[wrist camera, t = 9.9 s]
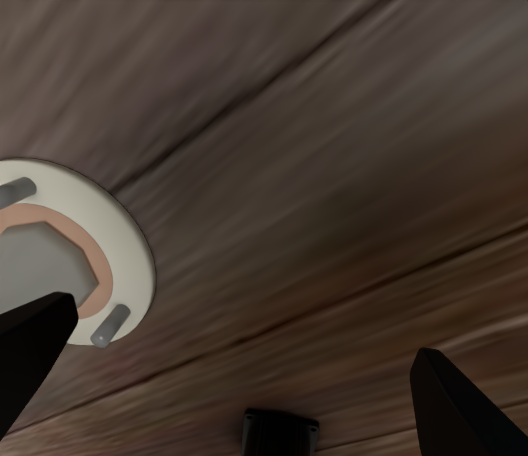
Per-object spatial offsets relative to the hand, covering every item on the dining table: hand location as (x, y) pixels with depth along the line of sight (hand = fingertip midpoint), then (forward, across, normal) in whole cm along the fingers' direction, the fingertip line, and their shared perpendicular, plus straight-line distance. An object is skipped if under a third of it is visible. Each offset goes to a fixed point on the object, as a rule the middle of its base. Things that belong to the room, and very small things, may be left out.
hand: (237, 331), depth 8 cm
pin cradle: (+12, +16, +8) cm, 21 cm away
